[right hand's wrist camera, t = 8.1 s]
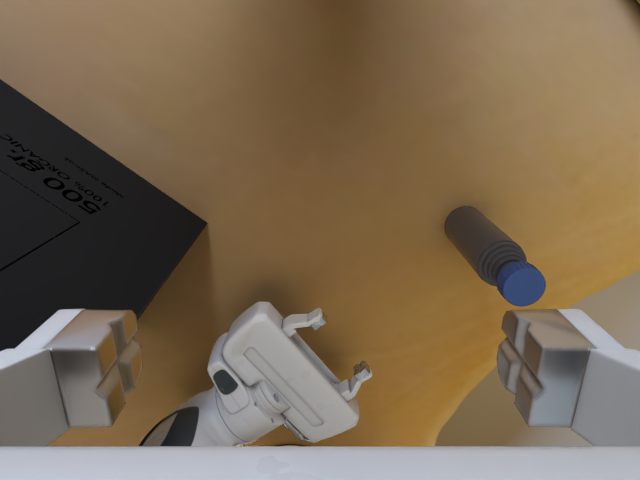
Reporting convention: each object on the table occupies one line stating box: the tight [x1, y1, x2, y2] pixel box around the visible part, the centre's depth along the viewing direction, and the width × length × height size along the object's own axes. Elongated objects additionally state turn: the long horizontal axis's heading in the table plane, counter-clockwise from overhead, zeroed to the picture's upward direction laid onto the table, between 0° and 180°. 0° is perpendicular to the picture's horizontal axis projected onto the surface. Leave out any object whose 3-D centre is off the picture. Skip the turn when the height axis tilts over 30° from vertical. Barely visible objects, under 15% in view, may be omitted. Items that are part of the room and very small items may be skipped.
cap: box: [496, 261, 546, 306], centre depth 43 cm, size 4×4×2 cm
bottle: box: [445, 207, 526, 286], centre depth 51 cm, size 5×5×18 cm
